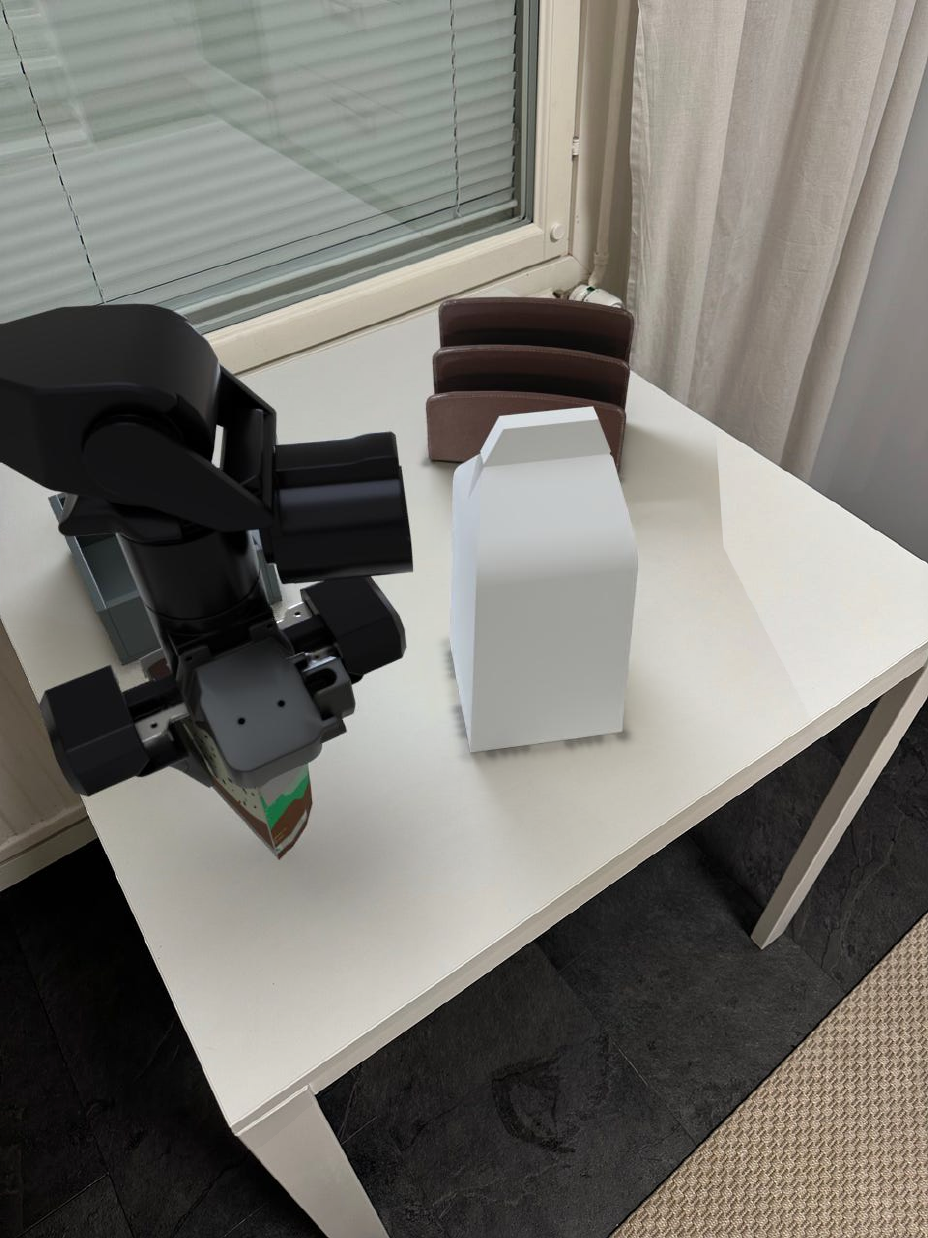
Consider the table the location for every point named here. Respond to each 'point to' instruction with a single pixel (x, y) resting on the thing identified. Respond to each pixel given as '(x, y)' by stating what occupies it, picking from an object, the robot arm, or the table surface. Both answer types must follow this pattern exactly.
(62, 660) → the table surface
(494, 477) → the milk
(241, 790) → the cake slice
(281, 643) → the robot arm
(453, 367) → the letter holder
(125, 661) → the storage box
